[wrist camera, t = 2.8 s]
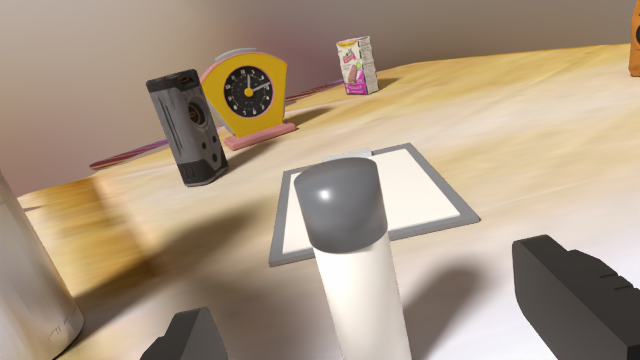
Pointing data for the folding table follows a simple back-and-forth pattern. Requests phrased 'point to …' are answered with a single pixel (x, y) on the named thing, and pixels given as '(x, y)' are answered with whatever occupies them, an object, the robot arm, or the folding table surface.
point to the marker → (354, 256)
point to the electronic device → (188, 127)
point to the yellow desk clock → (248, 96)
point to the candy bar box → (358, 66)
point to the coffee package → (635, 42)
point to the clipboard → (398, 194)
